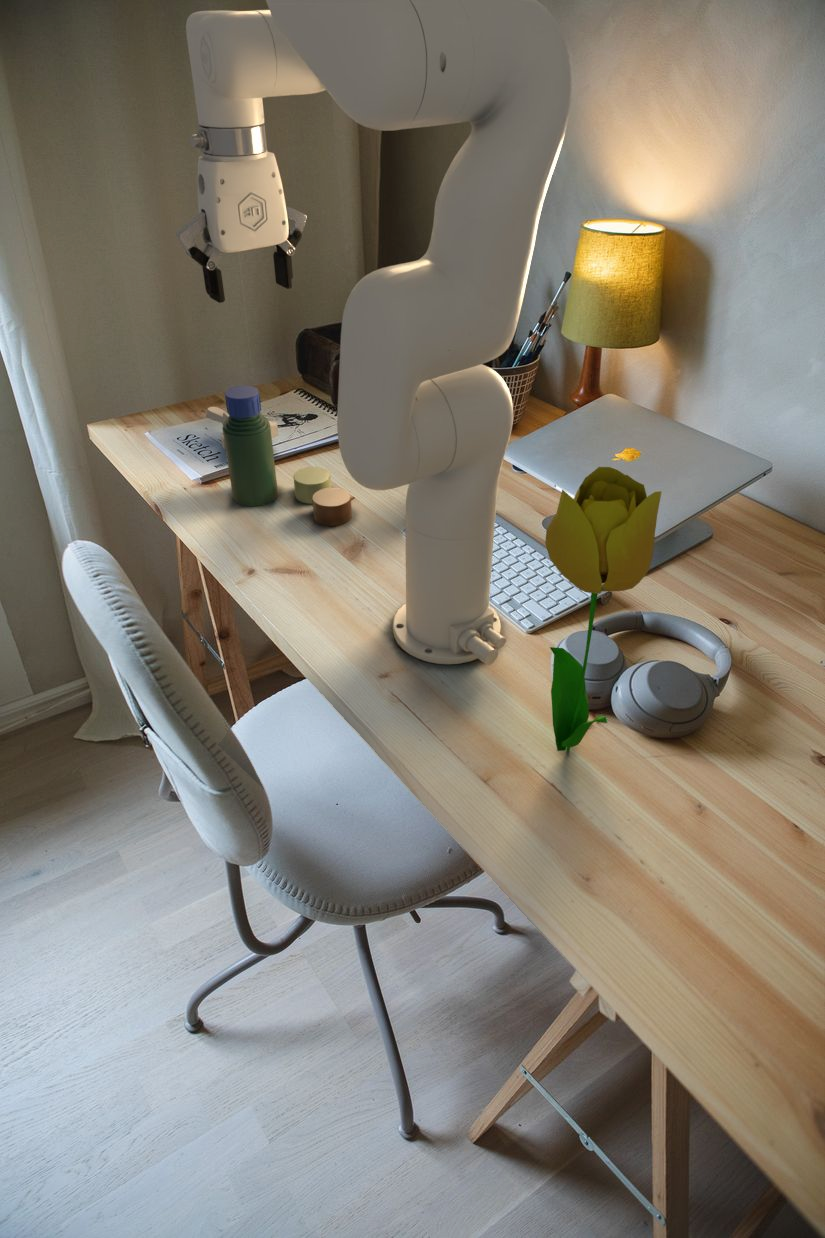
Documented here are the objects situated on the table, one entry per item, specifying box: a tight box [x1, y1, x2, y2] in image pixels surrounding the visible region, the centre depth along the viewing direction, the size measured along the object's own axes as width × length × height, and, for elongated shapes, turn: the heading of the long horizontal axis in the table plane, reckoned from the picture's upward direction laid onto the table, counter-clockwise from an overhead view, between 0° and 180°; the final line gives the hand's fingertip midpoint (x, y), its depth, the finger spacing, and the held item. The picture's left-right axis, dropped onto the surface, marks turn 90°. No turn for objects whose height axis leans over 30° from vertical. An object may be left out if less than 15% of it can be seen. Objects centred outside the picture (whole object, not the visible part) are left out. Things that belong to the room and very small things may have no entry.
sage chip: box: [293, 466, 332, 505], centre depth 121 cm, size 5×5×3 cm
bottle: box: [221, 412, 279, 507], centre depth 117 cm, size 7×7×15 cm
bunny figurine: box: [205, 406, 279, 450], centre depth 135 cm, size 10×5×15 cm
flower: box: [544, 466, 662, 753], centre depth 73 cm, size 9×8×30 cm
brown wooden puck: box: [312, 487, 353, 527], centre depth 116 cm, size 5×5×3 cm
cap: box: [224, 385, 262, 418], centre depth 113 cm, size 5×5×3 cm
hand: (251, 292), depth 107 cm, fingers open, 9 cm apart
